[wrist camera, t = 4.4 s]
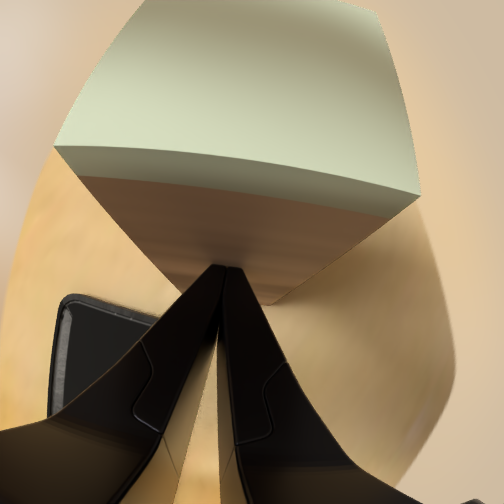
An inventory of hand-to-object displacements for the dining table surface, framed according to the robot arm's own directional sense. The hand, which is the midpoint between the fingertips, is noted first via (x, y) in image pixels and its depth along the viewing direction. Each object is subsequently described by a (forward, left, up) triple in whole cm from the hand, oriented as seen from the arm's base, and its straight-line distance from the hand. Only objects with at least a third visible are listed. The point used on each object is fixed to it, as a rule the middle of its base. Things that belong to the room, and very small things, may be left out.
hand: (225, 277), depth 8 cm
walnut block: (+2, 0, -8) cm, 8 cm away
